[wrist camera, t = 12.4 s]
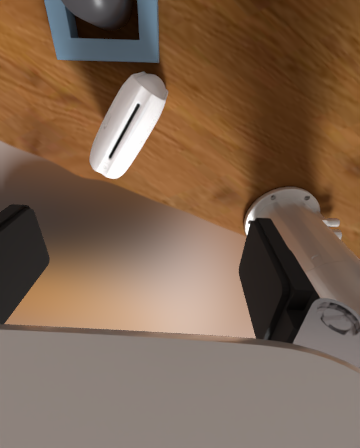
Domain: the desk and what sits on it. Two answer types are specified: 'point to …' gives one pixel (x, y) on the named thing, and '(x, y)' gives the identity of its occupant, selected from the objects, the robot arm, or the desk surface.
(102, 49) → the collar
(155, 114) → the photo printer
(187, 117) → the desk surface
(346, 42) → the desk surface
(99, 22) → the dark grey cylinder
